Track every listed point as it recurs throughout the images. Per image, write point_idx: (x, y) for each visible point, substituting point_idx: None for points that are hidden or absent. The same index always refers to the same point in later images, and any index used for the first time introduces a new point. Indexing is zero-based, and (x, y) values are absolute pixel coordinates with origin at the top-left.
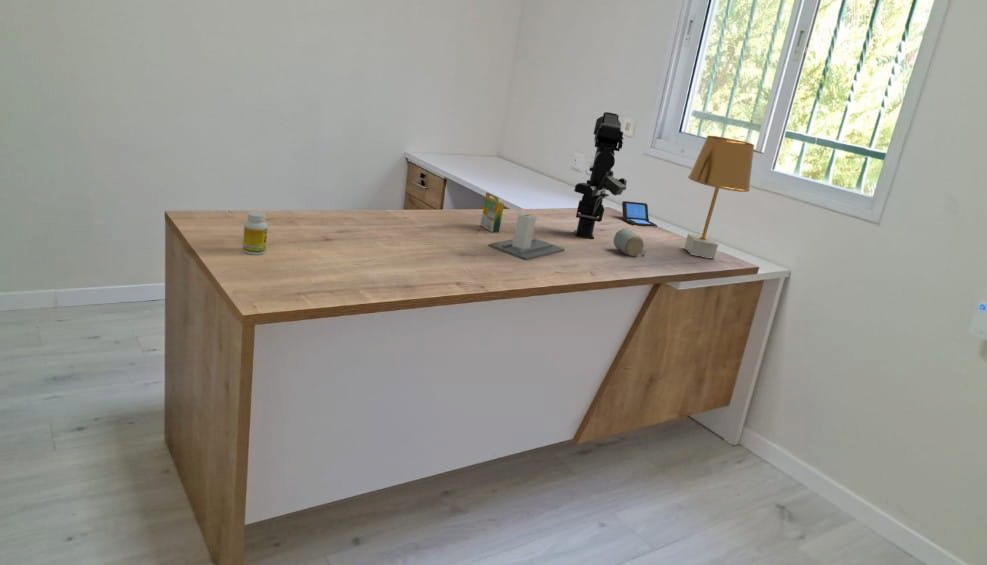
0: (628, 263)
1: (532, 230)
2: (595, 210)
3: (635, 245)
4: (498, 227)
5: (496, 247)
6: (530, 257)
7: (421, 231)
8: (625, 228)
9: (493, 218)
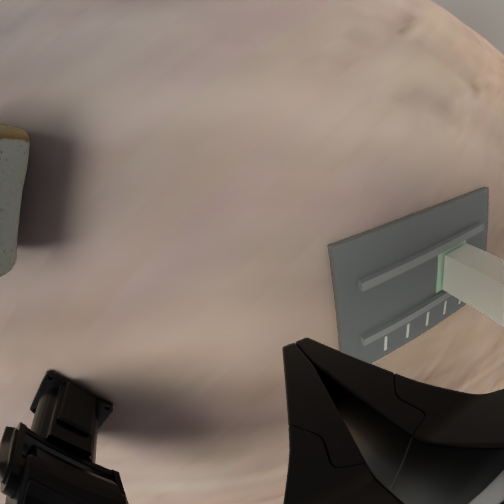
0: (120, 36)
1: (490, 273)
2: (294, 370)
3: None
4: None
5: None
6: (478, 191)
7: (485, 356)
8: None
9: None
